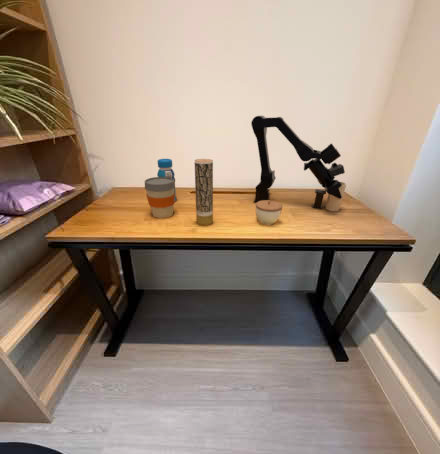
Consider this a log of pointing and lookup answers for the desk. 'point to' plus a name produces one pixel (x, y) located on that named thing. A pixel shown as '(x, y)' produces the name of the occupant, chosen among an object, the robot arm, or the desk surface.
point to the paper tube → (204, 191)
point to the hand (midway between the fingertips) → (338, 195)
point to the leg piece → (319, 198)
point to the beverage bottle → (166, 170)
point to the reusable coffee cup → (160, 196)
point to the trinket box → (268, 211)
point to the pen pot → (335, 199)
